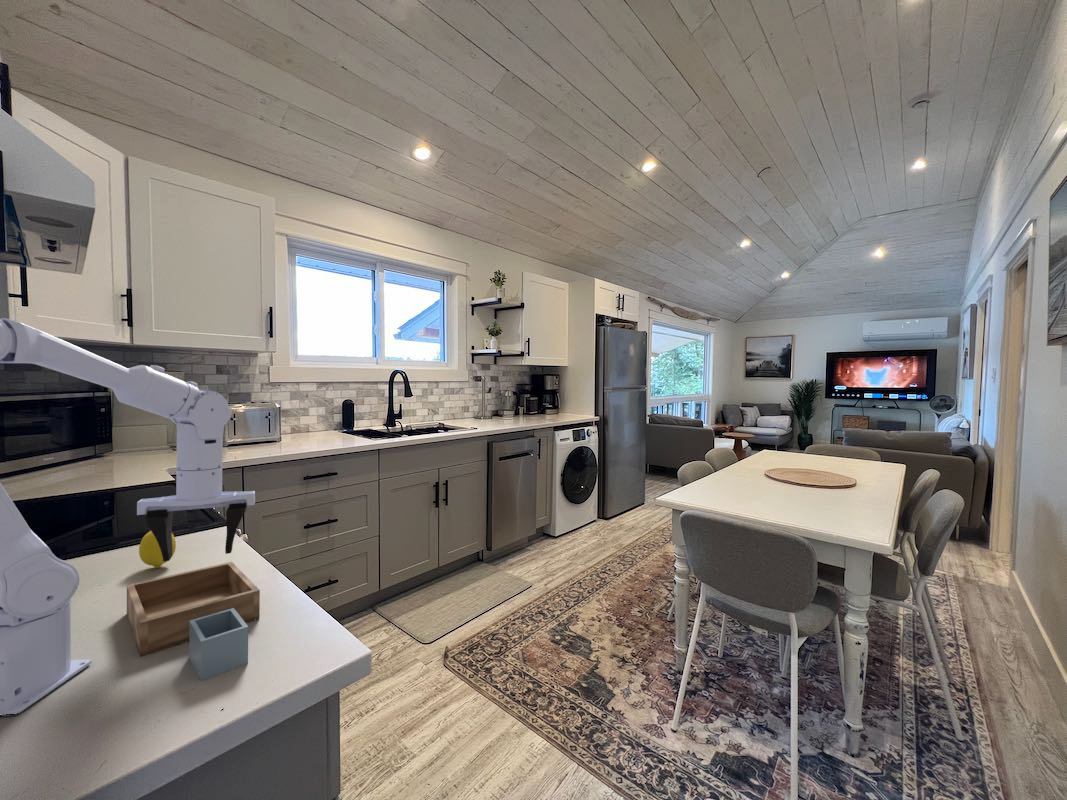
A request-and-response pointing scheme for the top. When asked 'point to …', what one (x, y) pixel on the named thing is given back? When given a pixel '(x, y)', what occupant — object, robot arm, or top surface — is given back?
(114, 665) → the top surface
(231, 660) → the small crate
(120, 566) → the top surface
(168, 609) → the big crate
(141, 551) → the lemon
